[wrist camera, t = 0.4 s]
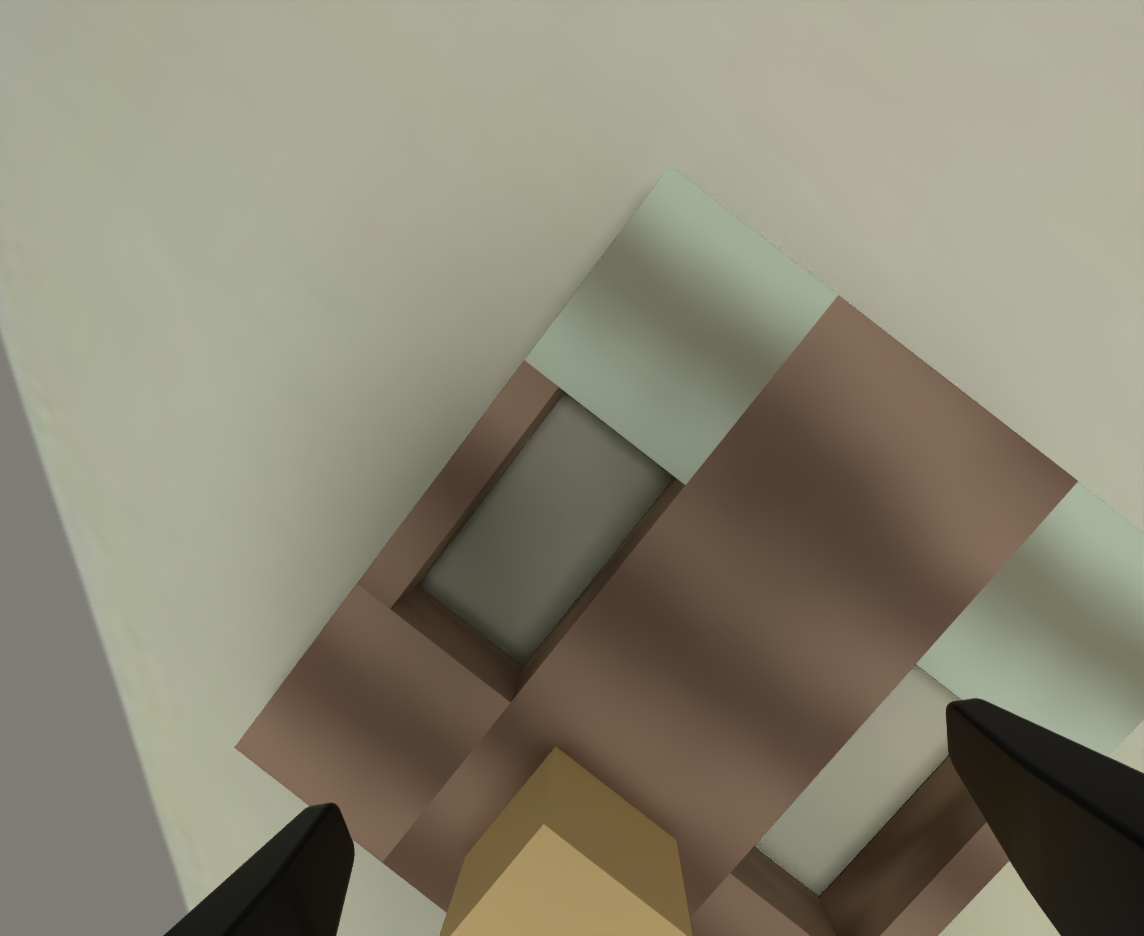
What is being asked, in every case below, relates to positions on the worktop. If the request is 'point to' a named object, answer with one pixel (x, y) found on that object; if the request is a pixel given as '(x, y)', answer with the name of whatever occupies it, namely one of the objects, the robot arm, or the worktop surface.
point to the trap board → (729, 597)
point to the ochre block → (570, 865)
